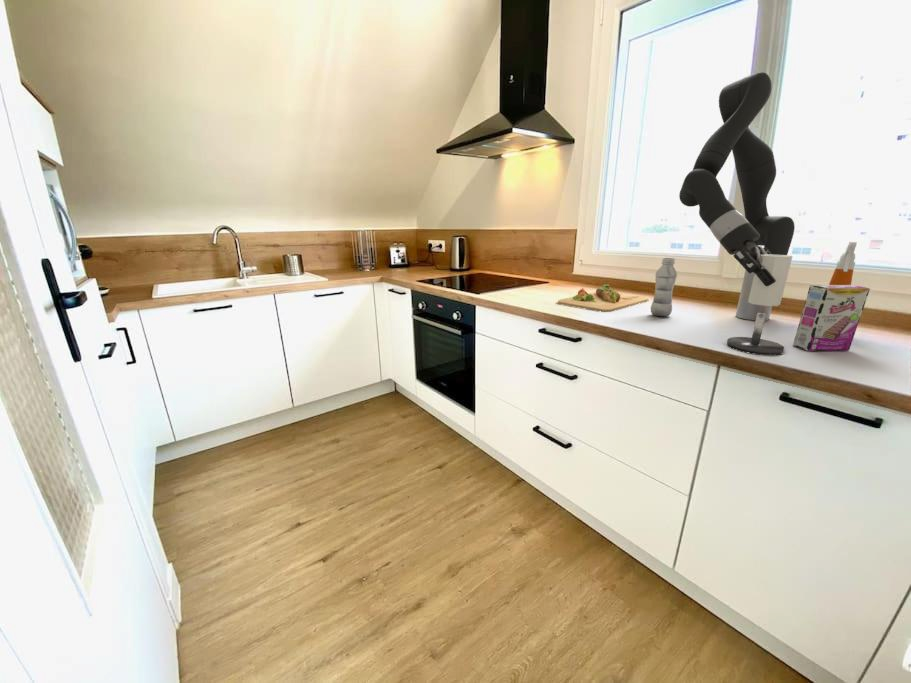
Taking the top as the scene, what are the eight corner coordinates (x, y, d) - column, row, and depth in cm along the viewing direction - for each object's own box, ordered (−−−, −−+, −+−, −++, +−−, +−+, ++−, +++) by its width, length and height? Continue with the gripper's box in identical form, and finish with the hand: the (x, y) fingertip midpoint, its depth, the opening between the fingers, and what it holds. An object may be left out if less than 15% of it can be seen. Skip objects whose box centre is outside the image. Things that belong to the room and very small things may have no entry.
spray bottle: (809, 336, 110) (835, 242, 102) (810, 328, 118) (834, 240, 110) (843, 341, 106) (873, 242, 98) (842, 333, 113) (869, 241, 105)
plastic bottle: (673, 318, 132) (683, 259, 126) (652, 317, 133) (661, 259, 127) (667, 314, 138) (676, 257, 132) (647, 313, 139) (655, 257, 133)
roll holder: (738, 338, 109) (745, 306, 106) (791, 349, 99) (800, 315, 96) (717, 345, 103) (724, 312, 100) (771, 358, 93) (780, 321, 90)
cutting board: (606, 314, 141) (609, 294, 139) (554, 304, 159) (555, 286, 156) (650, 302, 162) (653, 284, 160) (600, 294, 180) (601, 278, 178)
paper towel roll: (755, 300, 101) (766, 254, 98) (783, 304, 96) (795, 255, 93) (744, 302, 98) (755, 255, 95) (772, 306, 93) (785, 256, 90)
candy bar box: (808, 352, 97) (827, 288, 92) (791, 346, 102) (808, 284, 97) (851, 351, 97) (871, 287, 93) (832, 345, 102) (850, 284, 97)
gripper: (734, 221, 94) (781, 275, 88) (760, 221, 101) (805, 271, 95) (706, 242, 100) (749, 294, 94) (733, 241, 107) (774, 289, 101)
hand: (777, 282), depth 94 cm, fingers closed on paper towel roll, 6 cm apart
